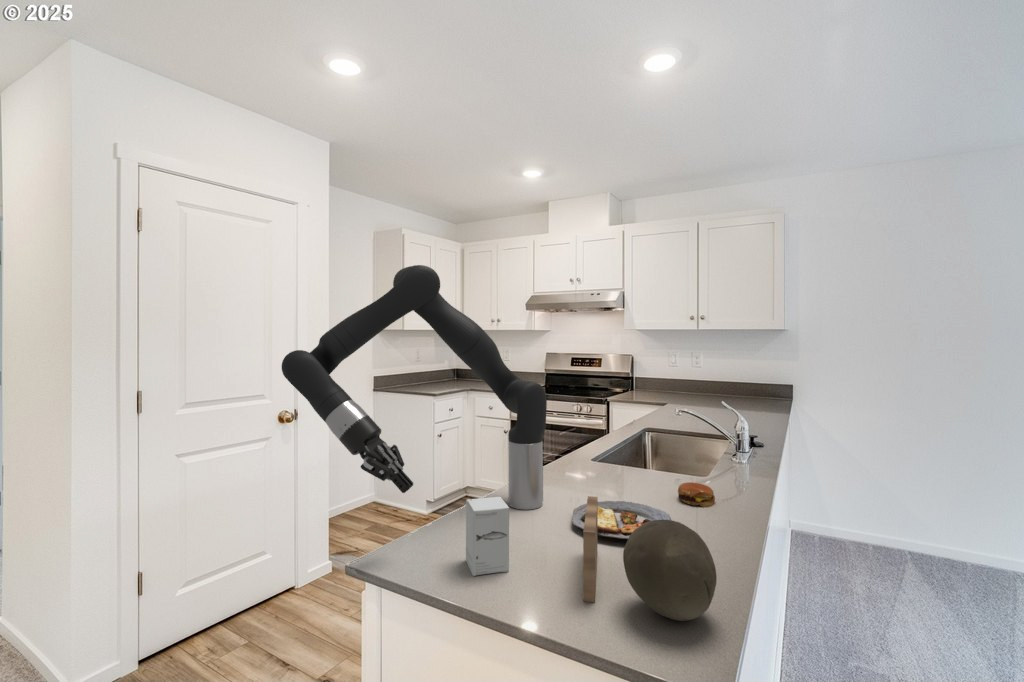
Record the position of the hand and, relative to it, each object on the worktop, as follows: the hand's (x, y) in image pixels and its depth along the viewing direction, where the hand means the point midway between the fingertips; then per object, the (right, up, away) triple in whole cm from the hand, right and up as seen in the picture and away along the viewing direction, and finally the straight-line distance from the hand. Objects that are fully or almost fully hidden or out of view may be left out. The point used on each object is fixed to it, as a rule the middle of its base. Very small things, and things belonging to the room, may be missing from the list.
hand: (408, 488), depth 101 cm
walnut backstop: (+36, -14, -7) cm, 39 cm away
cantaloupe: (+47, -15, -20) cm, 53 cm away
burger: (+72, -14, +35) cm, 81 cm away
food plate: (+47, -15, +18) cm, 53 cm away
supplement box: (+16, -15, -3) cm, 22 cm away
